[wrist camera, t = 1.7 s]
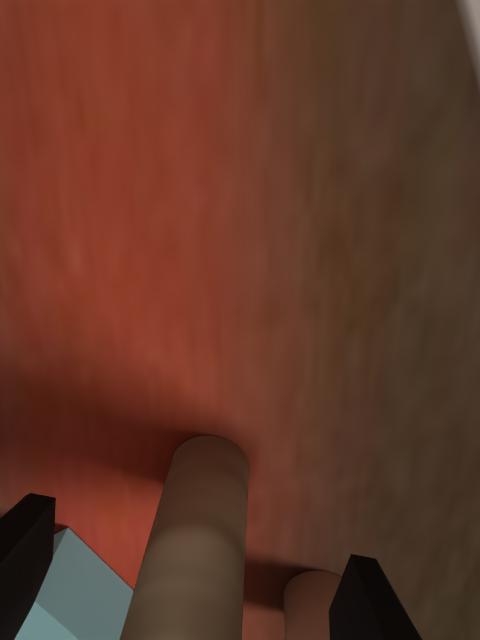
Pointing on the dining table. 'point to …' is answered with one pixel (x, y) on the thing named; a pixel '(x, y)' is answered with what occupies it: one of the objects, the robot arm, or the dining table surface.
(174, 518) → the long pin
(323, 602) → the short pin
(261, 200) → the dining table surface
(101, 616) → the hole block
